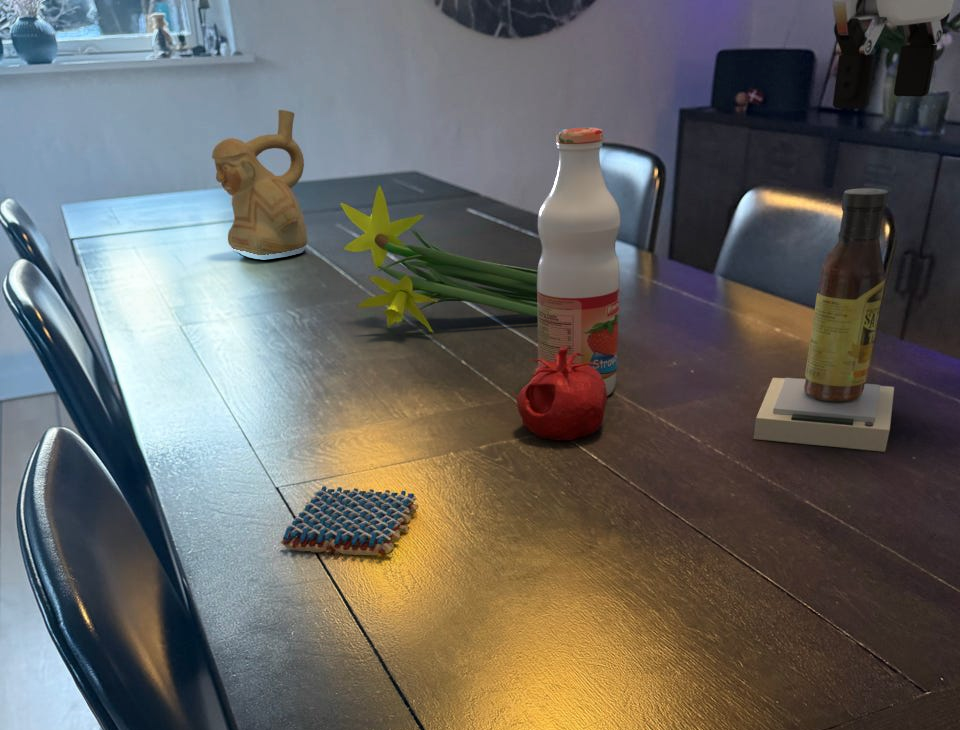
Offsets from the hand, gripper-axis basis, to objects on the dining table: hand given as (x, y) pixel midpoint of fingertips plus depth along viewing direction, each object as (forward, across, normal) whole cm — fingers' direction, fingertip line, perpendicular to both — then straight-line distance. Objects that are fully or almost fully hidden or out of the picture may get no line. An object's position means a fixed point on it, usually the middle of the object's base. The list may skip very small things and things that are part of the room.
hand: (881, 101), depth 84 cm
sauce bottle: (+28, 0, 0) cm, 28 cm away
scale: (+30, -1, 0) cm, 30 cm away
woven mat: (+30, -52, +15) cm, 62 cm away
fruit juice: (+30, -12, +27) cm, 42 cm away
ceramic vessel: (+30, +2, +129) cm, 133 cm away
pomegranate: (+30, -22, +19) cm, 42 cm away
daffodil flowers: (+30, -3, +61) cm, 68 cm away
